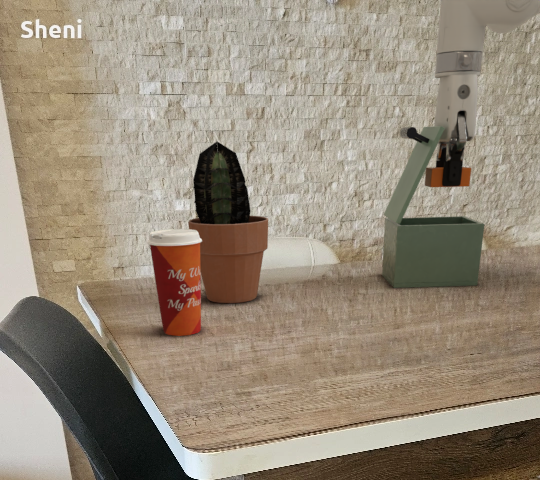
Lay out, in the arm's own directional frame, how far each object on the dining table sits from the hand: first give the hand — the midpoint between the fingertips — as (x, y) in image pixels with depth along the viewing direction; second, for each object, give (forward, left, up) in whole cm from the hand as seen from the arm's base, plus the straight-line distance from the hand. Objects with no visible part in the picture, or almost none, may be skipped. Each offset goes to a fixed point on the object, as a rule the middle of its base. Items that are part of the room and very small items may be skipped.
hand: (447, 183), depth 120 cm
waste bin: (+1, -2, -17) cm, 17 cm away
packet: (0, 0, 0) cm, 0 cm away
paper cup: (+56, +3, -17) cm, 59 cm away
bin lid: (+5, -4, +1) cm, 6 cm away
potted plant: (+39, -12, -17) cm, 44 cm away
